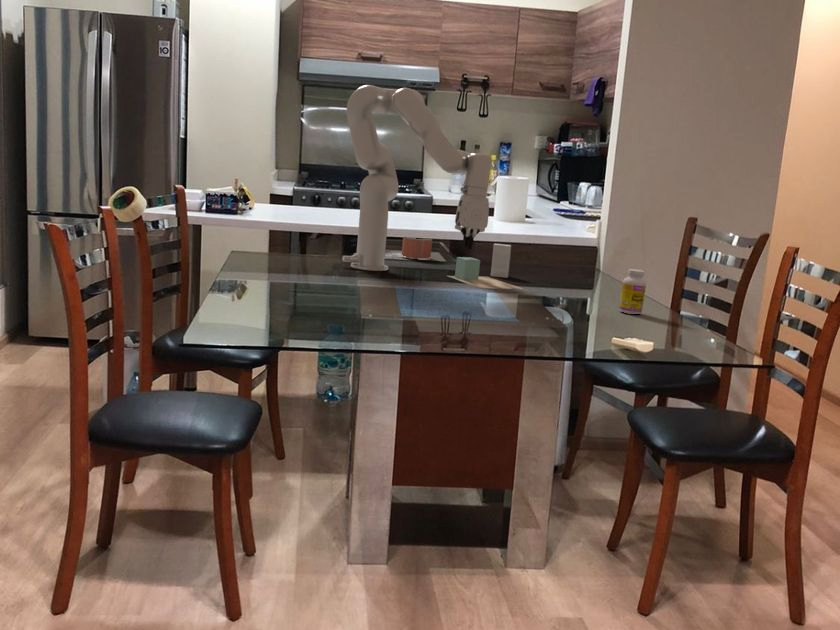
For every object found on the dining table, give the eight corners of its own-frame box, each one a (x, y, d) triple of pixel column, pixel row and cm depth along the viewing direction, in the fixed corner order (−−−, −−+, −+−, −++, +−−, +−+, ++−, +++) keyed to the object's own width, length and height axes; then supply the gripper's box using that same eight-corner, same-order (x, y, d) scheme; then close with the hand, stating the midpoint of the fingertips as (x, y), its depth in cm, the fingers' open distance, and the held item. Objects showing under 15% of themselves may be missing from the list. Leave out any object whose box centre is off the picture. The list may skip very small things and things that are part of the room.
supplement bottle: (628, 315, 255) (635, 271, 253) (613, 310, 261) (619, 268, 258) (646, 315, 258) (652, 272, 256) (631, 310, 264) (637, 268, 262)
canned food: (412, 255, 344) (415, 224, 342) (436, 259, 338) (439, 228, 336) (395, 256, 335) (398, 225, 333) (419, 261, 329) (422, 229, 327)
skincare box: (507, 279, 304) (511, 245, 302) (507, 281, 300) (511, 246, 297) (490, 277, 304) (493, 243, 302) (489, 279, 300) (493, 244, 298)
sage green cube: (463, 280, 284) (465, 259, 283) (454, 277, 289) (456, 257, 288) (478, 280, 287) (480, 260, 285) (469, 277, 291) (471, 257, 290)
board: (480, 292, 271) (480, 288, 271) (445, 279, 290) (445, 275, 290) (523, 292, 278) (523, 288, 278) (486, 280, 297) (487, 276, 297)
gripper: (460, 191, 276) (452, 249, 280) (500, 195, 283) (492, 252, 287) (449, 188, 283) (441, 245, 287) (488, 193, 290) (480, 248, 294)
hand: (467, 248), depth 287 cm, fingers closed
